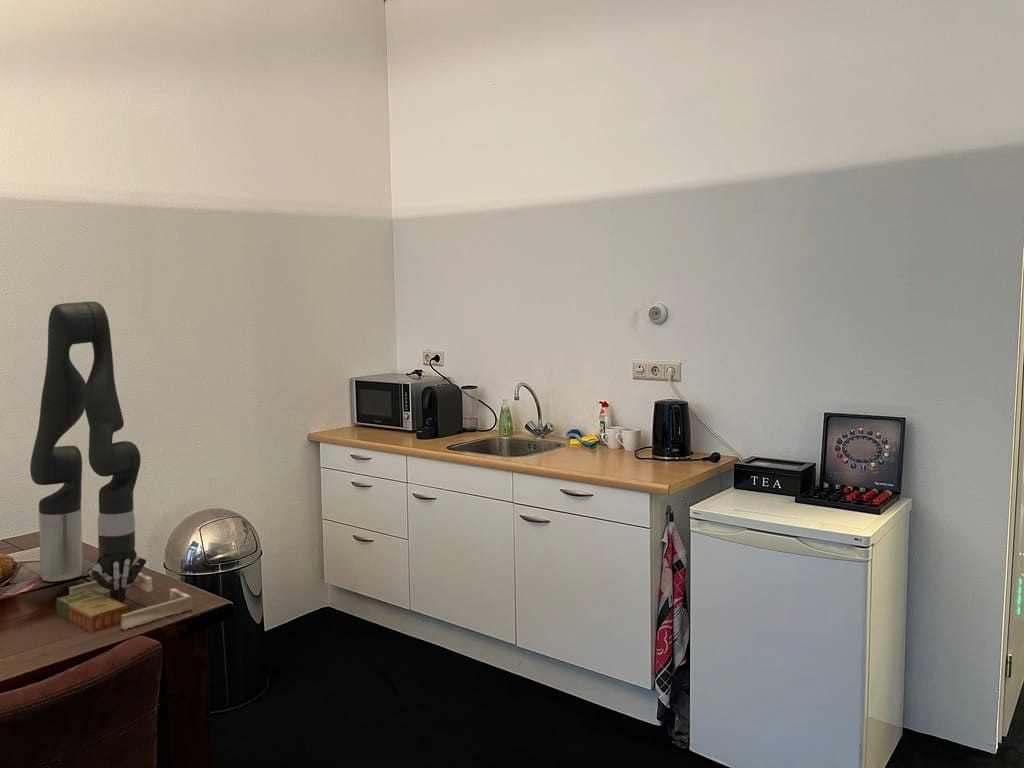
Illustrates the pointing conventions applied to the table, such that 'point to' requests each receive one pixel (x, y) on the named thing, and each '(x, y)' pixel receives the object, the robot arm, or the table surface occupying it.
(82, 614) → the carton
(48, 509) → the robot arm
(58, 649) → the table surface
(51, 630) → the table surface
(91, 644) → the table surface
